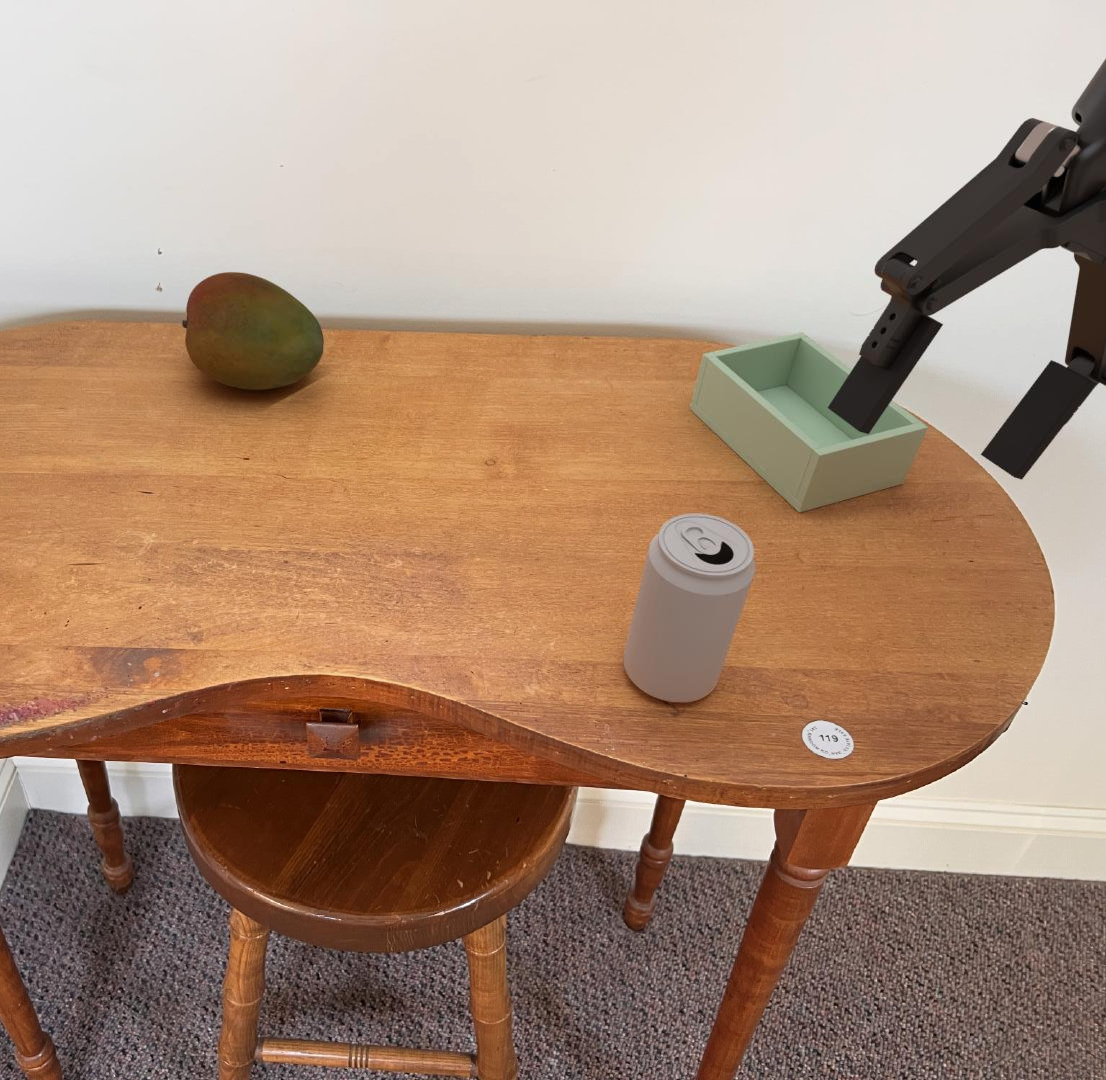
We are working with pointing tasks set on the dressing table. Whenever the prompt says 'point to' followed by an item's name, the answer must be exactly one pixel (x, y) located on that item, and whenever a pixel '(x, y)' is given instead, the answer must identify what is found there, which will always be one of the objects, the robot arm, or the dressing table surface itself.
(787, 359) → the bin
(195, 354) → the fruit
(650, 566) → the beverage can
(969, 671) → the dressing table surface
